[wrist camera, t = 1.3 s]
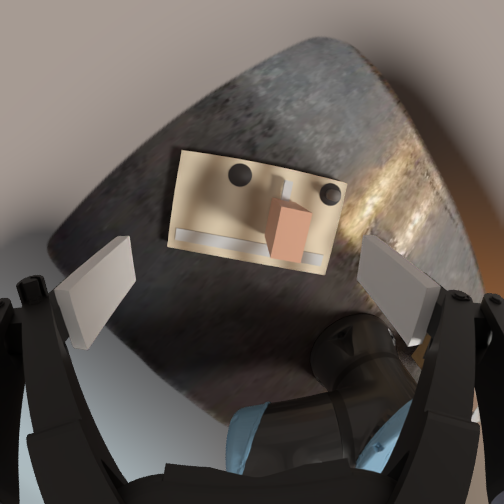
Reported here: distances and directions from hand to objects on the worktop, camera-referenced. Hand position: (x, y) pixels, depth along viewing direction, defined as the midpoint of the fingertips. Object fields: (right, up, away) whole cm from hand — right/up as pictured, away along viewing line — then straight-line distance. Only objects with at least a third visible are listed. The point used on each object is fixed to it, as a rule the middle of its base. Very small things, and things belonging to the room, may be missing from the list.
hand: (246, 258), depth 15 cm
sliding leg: (+4, +6, +21) cm, 22 cm away
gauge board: (+1, +6, +23) cm, 24 cm away
